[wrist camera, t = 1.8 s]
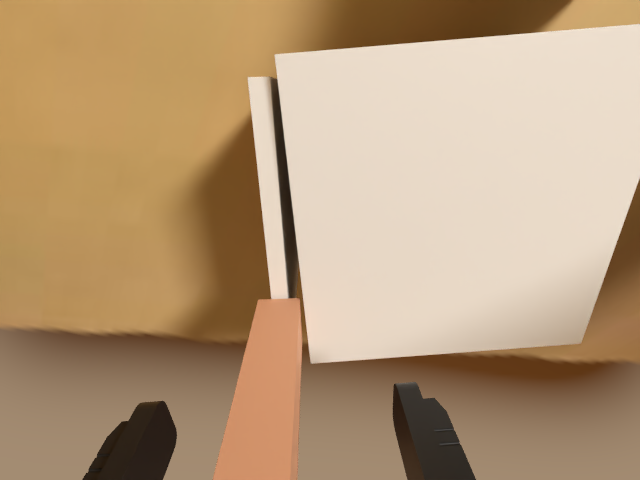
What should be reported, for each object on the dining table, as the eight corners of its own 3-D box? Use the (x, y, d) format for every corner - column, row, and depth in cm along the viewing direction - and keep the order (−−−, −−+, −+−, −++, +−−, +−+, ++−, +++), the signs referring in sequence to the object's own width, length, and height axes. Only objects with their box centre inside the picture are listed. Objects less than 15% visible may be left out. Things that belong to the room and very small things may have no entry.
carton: (509, 54, 21) (695, 19, 11) (479, 248, 26) (580, 343, 16) (292, 71, 21) (274, 54, 11) (310, 261, 27) (310, 363, 17)
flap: (297, 82, 21) (242, 48, 4) (306, 262, 26) (297, 555, 10) (266, 83, 21) (83, 52, 4) (281, 263, 26) (231, 558, 10)
